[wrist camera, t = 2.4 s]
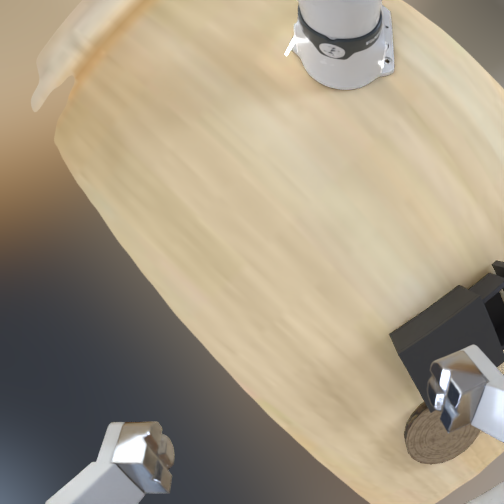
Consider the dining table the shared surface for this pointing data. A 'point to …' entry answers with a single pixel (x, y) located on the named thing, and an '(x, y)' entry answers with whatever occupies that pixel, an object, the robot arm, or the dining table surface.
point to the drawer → (493, 298)
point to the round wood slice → (435, 437)
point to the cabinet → (445, 335)
